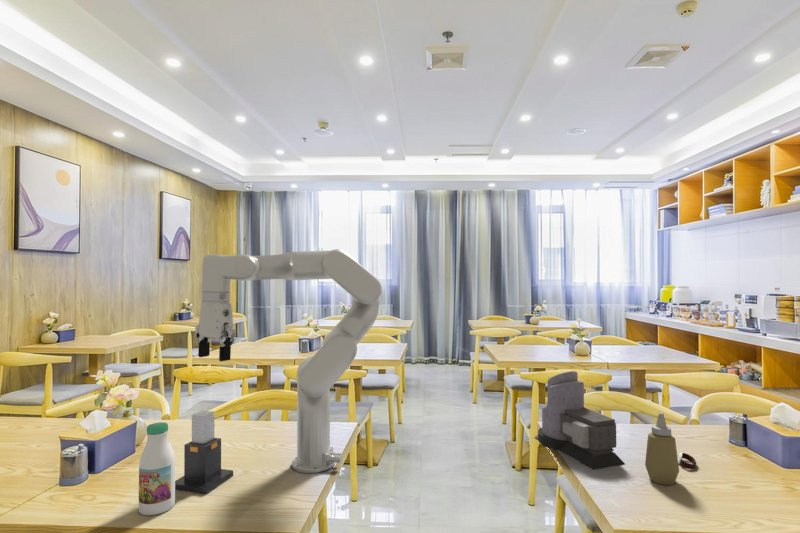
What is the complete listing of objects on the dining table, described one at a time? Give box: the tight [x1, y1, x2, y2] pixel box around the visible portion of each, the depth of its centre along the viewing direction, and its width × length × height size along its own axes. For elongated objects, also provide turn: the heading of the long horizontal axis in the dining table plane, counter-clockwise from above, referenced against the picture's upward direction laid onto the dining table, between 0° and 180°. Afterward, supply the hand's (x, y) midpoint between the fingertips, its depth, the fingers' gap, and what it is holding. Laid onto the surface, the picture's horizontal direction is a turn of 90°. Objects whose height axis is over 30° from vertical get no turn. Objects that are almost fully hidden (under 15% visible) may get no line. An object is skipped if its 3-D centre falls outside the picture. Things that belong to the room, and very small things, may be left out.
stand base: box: [175, 437, 234, 495], centre depth 122 cm, size 11×11×11 cm
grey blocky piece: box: [533, 370, 626, 471], centre depth 145 cm, size 30×16×24 cm, turn 18°
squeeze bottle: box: [644, 412, 680, 486], centre depth 122 cm, size 8×8×18 cm
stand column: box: [191, 410, 215, 446], centre depth 123 cm, size 4×4×17 cm
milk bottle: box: [138, 421, 176, 516], centre depth 109 cm, size 8×8×20 cm
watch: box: [677, 451, 697, 470], centre depth 132 cm, size 8×5×4 cm, turn 149°
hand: (214, 358), depth 128 cm, fingers open, 9 cm apart
